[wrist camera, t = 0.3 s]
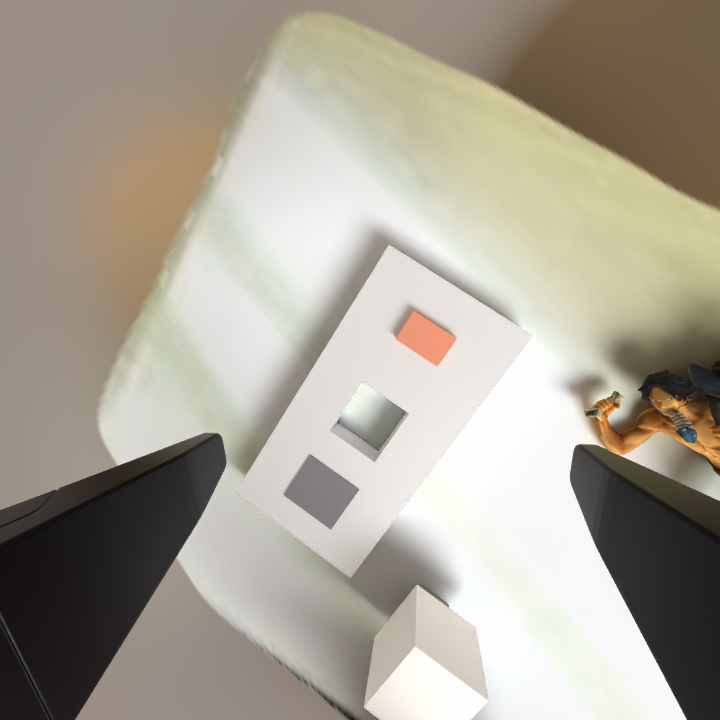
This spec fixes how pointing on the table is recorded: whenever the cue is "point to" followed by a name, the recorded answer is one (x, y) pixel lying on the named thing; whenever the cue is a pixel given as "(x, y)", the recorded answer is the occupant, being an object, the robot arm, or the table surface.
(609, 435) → the action figure
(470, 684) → the block
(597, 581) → the table surface
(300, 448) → the power strip
